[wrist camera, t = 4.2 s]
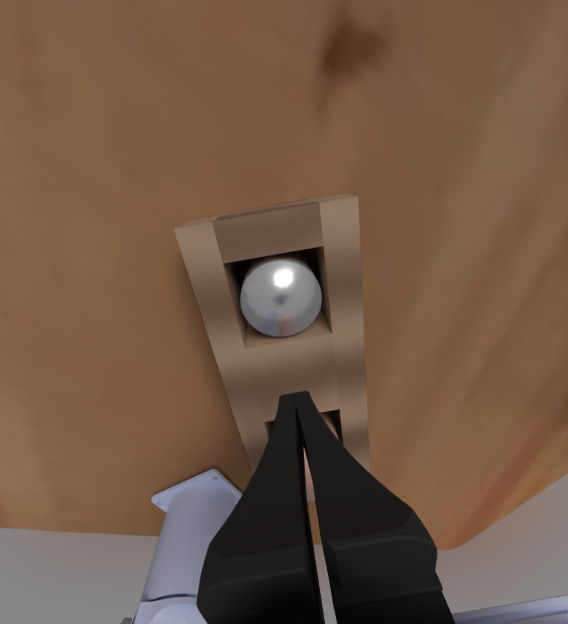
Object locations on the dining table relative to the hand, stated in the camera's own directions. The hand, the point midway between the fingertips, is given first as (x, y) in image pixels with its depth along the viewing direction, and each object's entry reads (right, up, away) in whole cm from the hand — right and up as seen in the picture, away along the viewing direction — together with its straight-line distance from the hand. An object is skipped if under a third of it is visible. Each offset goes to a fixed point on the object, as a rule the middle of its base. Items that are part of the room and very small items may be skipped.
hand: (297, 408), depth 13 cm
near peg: (-1, +7, +7) cm, 10 cm away
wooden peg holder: (0, +2, +10) cm, 10 cm away
